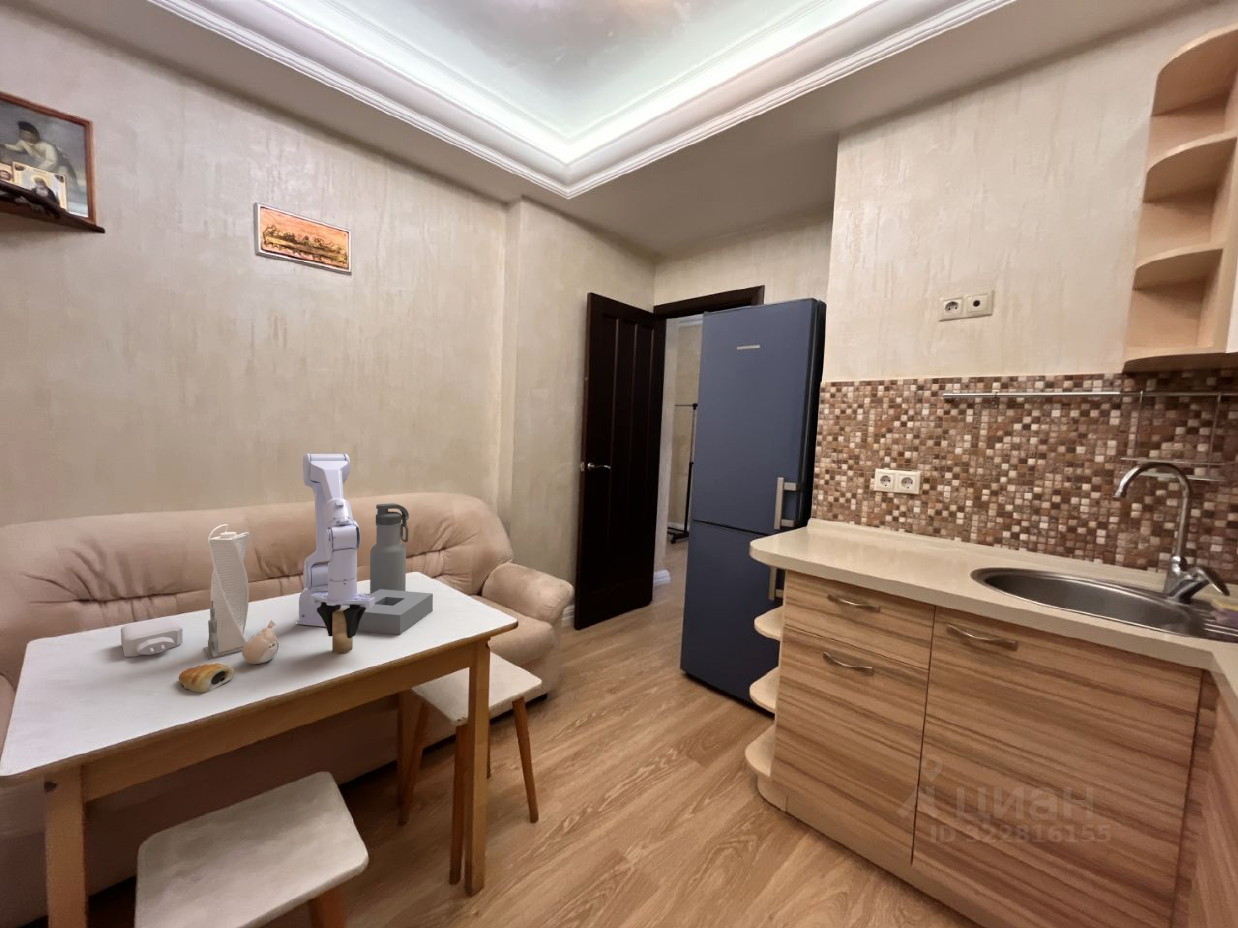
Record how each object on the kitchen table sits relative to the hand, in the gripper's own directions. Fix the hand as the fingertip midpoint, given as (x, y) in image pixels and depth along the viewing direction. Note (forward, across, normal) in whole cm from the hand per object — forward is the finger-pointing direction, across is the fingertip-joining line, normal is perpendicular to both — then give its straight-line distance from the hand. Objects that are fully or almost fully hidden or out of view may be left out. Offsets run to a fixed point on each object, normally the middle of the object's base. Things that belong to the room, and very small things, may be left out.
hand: (342, 635), depth 108 cm
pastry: (+4, -16, -18) cm, 24 cm away
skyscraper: (+4, -25, -4) cm, 26 cm away
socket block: (+3, 0, +18) cm, 18 cm away
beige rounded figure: (+4, -13, -8) cm, 16 cm away
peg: (+3, 0, 0) cm, 3 cm away
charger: (+4, -40, -8) cm, 41 cm away
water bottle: (+4, -11, +35) cm, 37 cm away
